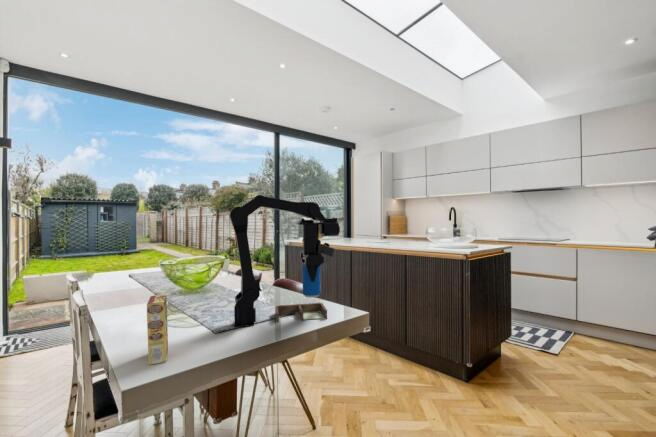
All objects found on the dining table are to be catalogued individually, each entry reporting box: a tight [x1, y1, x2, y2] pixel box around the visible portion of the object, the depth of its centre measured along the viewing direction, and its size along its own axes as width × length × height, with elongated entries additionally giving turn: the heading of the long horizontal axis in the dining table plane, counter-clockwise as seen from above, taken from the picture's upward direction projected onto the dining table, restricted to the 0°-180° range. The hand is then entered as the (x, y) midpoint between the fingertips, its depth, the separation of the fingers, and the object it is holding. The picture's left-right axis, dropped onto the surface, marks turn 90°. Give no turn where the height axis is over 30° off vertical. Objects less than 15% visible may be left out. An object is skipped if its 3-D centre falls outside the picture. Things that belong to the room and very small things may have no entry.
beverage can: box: [301, 262, 322, 299], centre depth 118 cm, size 6×6×12 cm
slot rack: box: [274, 302, 328, 323], centre depth 117 cm, size 18×10×3 cm, turn 101°
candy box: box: [146, 294, 169, 366], centre depth 84 cm, size 9×4×15 cm, turn 23°
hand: (311, 280), depth 118 cm, fingers closed on beverage can, 6 cm apart
